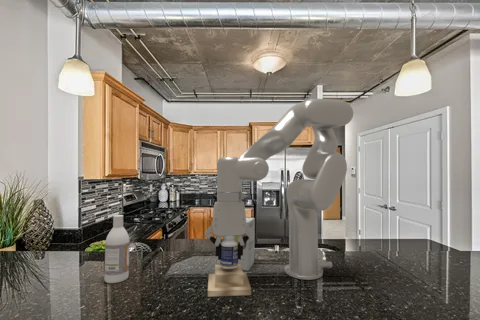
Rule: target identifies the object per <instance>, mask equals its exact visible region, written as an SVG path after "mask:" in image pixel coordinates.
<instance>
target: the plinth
mask: <svg viewBox="0 0 480 320" xmlns="http://www.w3.org/2000/svg"><path fill="white" fill-rule="evenodd" d="M231 296H234V297H235V296H237V297H238V296H252V287H251V284H250V280H249V278H248V274H247V271H246V272H244V270H242V267H241V264H238V266H237V267H236V268H233V269H224V268H222V267H221V266H220V264H215V266H214V273H208V283H207V297H209V298H211V297H231Z"/></svg>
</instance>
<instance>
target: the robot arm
mask: <svg viewBox="0 0 480 320" xmlns="http://www.w3.org/2000/svg"><path fill="white" fill-rule="evenodd" d="M353 117H354V109H353V107H352V105H351V104H350V103H348V102H347V101H345V100H341V99H329V98H309V99H306V100H303V101H301V102H298V103H297V104H295V105H293V106H291V107H290V108H289V109H288V110H287V111H286V112H285V114H283V116H282V117H281V118H280V119H279V120H278V121H277V122H276V123H275V124H274V125H273V126H272V127H271V128H270V129H269V131H267V132H265V134H263V135H262V136H261V137H260V138H259V139H258V140H256V141H255V142H254V143H252V145H250V146H249V147H248V148H247V149H246V150H245V151H244V153H242V154H241V155H240V156H239V157H236V156H222V157H219V158H218V160H217V162H216V167H217V168H216V169H217V170H216V171H217V172H216V178H217V179H216V186H217V187H216V201H215V202H214V204H213V209H212V223H211V225H210V226H209V227H208V228H207V229H206V230H205V231H204V236H205V238H207V239H209V241H210V242H212V244H213V245H214V246H215V257H217V260H218V261H220V260H221V246H220V244H221V241H222V238H223V236H238V239H239V242H238V259H241V256H243V245H244V243H245V242H246V241H247V240H248V239H249V238H250V237H251V236H252V235H253V234H254V232H253V230H252V229H251V228H250V227H249V226H248V225H247V223H246V218H247V215H246V207H245V202H244V201H243V200H244V199H247V193H243V189H242V188H243V182H242V181H249V182H258V181H262V180H264V179H265V178H266V177H267V175H268V174H269V170H270V167H269V165H268V162H267V160H268V159H270V158H271V157H273V156H275V155H277V154H279V153H282V152H284V151H285V150H286V149H288V148H289V147H290V146H291V145H292V144H293V143H294V142H295V140H297V138H298V137H299V136H300V135H301V134H302V132H303V131H304V130H305V129H306V128H308V127H311V129H312V131H313V134H314V141H313V143H312V146H311V148H310V149H309V152H308V153H307V156H306V157H305V160H304V162H303V165H302V169H301V170H302V174H303V175H304V176H305V177H306V178H307V179H306V178H305V179H304V178H303V179H302V178H301V179H296V180H293V181H291V182H290V183H289V185H288V186H287V187H286V193H285V194H286V196H285V197H286V203H287V207H288V230H289V231H288V234H289V235H288V247H289V248H288V249H289V250H288V251H289V254H288V255H289V259H288V260H289V262H288V263H289V264H287V265H285V266H284V272H285V274H286V275H287V276H289V277H291V278H295V279H298V280H306V281H311V280H318V279H320V278H322V276H323V274H324V271H323V269H324V268H326V269H327V268H329V269H331V268H333V262H332V261H325V260H326V259H321V260H320V259H319V251H318V250H319V244H318V243H319V239H318V238H319V237H318V236H319V232H318V231H319V227H318V223H319V222H318V215H317V213H316V211H319V212H320V211H326V210H328V209H329V208H330V207H332V206H333V204H334V202H335V200H336V198H337V196H338V194H339V192H340V190H341V187H342V184H343V183H344V180H345V178H346V175H347V170H348V162H347V160H346V158H345V157H344V156H343V155H344V154H341V153H340V152H337V150H338V147H339V141H338V138H337V136H336V134H335V131H334V129H335V128H340V127H344V126H346V125H348V124H349V123H351V121H352V119H353ZM246 230H247V231H248V233H247V234H246ZM211 233H212V234H211ZM245 234H246V235H245ZM243 235H245V236H244V237H243V238H242V236H243Z"/></svg>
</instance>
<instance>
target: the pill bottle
mask: <svg viewBox="0 0 480 320" xmlns="http://www.w3.org/2000/svg"><path fill="white" fill-rule="evenodd" d="M235 238H236V236H222V239H221V240H220V246H221V260H219V265H220V266H221V267H222V268H224V269H233V268H236V267H237V266H238V241H237V240H235Z"/></svg>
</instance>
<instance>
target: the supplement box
mask: <svg viewBox="0 0 480 320" xmlns="http://www.w3.org/2000/svg"><path fill="white" fill-rule="evenodd" d="M255 219H256V218H255V217H246V223H247V225H248V226H249V227H250V228H251V229H252V230H253V232H254V234H253V235H252V236H251V237H250V238H249V239H248V240H247V241H246V242H245V243H244V245H243V256H241V259H238V264H241V267H242V271H246V272H247V271H249V270H250V269H251V267H252V266H253V265H254V263H255V236H256V233H255V232H256V231H255V228H256V226H255V225H256V220H255ZM247 233H248V231H247V230H246V234H247ZM246 234H245V235H246ZM245 235H243V236H242V238H243V237H244V236H245ZM235 240H237V241H238V242H239V239H238V236H236V238H235Z"/></svg>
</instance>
